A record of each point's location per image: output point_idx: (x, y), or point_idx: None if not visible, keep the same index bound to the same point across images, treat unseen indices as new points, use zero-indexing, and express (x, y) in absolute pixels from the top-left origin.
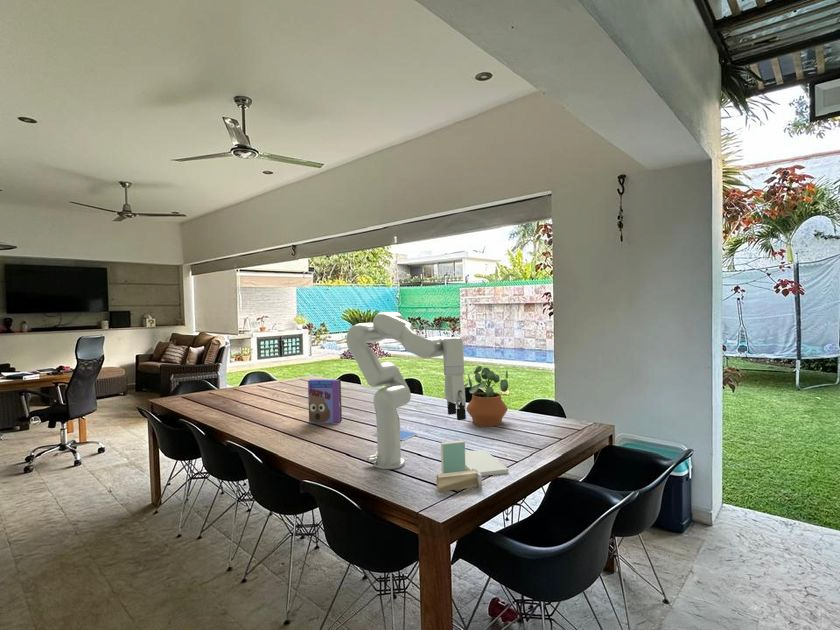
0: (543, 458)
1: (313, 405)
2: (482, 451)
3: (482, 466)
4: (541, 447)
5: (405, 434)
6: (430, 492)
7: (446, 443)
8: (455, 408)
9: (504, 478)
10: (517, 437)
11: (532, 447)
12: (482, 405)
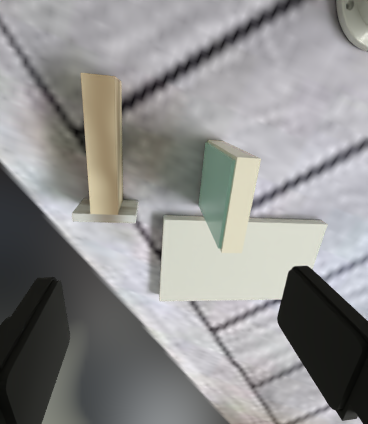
0: (206, 375)
1: None
2: None
3: (198, 255)
4: (261, 390)
5: None
6: (93, 45)
7: (237, 177)
8: (303, 359)
9: (131, 275)
10: None
11: (270, 379)
12: None
